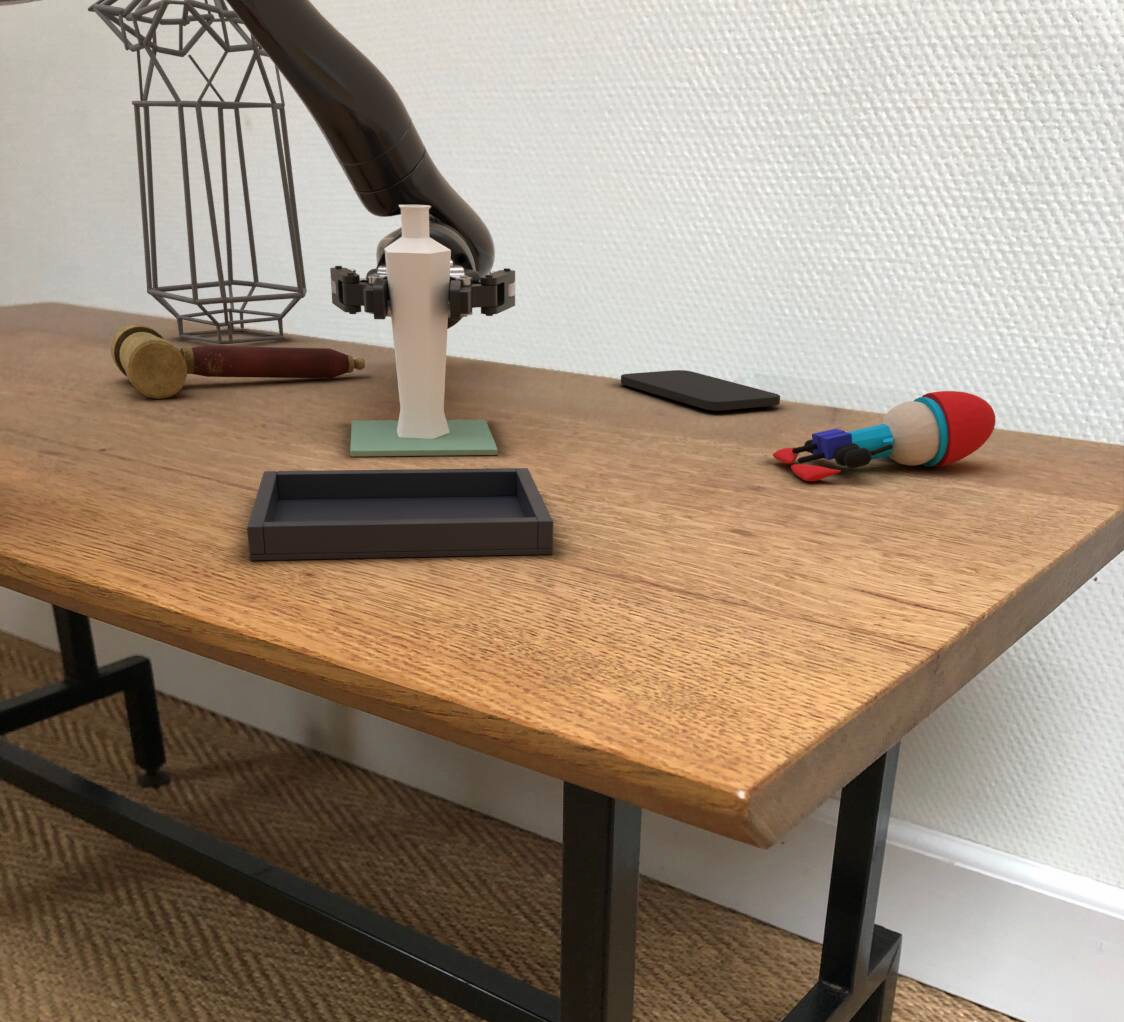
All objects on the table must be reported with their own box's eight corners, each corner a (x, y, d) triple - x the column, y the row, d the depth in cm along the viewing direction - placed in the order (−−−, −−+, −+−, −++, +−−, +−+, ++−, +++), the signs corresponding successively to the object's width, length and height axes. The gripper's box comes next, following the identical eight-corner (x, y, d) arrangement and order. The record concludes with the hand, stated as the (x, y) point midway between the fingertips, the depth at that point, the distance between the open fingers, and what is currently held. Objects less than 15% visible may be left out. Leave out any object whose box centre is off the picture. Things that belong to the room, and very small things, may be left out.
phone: (685, 369, 115) (787, 396, 103) (684, 378, 115) (786, 406, 103) (615, 374, 112) (712, 402, 100) (614, 384, 112) (711, 413, 100)
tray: (249, 560, 64) (246, 526, 64) (266, 501, 75) (263, 470, 74) (552, 554, 66) (553, 521, 66) (527, 497, 77) (528, 467, 76)
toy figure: (813, 509, 81) (1022, 460, 83) (806, 432, 79) (1021, 385, 82) (767, 489, 88) (962, 445, 90) (760, 418, 86) (960, 374, 88)
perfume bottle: (374, 432, 90) (363, 204, 83) (421, 423, 93) (414, 202, 86) (416, 443, 87) (408, 208, 81) (463, 434, 90) (459, 206, 84)
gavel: (349, 329, 116) (383, 345, 108) (348, 381, 118) (382, 400, 110) (108, 322, 107) (126, 339, 99) (112, 378, 109) (129, 398, 101)
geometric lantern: (337, 341, 131) (315, -56, 116) (204, 357, 121) (161, -77, 105) (250, 325, 141) (219, -43, 125) (121, 338, 130) (69, -62, 115)
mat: (350, 456, 85) (350, 450, 85) (352, 425, 94) (351, 420, 94) (497, 455, 87) (497, 449, 86) (485, 424, 95) (485, 419, 95)
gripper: (333, 222, 97) (304, 240, 82) (519, 225, 98) (525, 244, 82) (338, 324, 100) (312, 360, 85) (518, 327, 101) (524, 363, 86)
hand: (417, 303), depth 84 cm, fingers closed on perfume bottle, 4 cm apart
